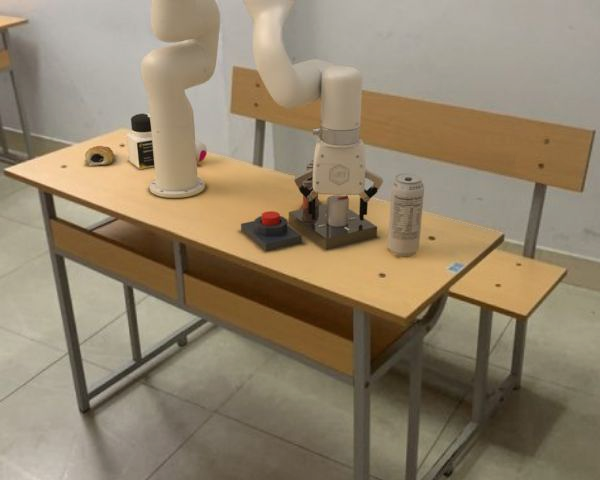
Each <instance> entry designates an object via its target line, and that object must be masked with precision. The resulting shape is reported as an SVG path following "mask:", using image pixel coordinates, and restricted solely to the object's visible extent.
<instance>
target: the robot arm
mask: <svg viewBox="0 0 600 480" xmlns="http://www.w3.org/2000/svg"><path fill="white" fill-rule="evenodd" d="M242 1H243V4H244V6H245V8H246V10H247V12H248V14H249V15H250V18H251V20H252V24H253V29H252V54H253V61H254V65H255V68H256V70H257V72H258V74H259V77H260V78H261V80H262V83H263V84H264V87H265V88H266V90H267V92H268V95H270V97H271V98H272V100H273V101H274V102H275V103H276V104H277V105H279V106H280V107H282V108H284V109H287V110H293V109H297V108H300V107H303V106H305V105H307V104H310V103H313V102H317V101H320V125H319V126H318V127H313V128H312V136H316V137H318V139H317V140H316V143H315V148H314V153H313V160H314V163H313V168H312V169H310V170H308V171H306V170H305V171H304V172H302V173H299V174H297V175H295V176H294V183H295V185H296V187H297V189H298V190H299V193H301V194H302V196H303V195H304V196H305V197H306V198H307V200H308V201H309V202H308V214H312V220H314V219H315V208H316V196H317V195H318V196H319V195H329V196H333V195H342V196H346V195H347V196H357V195H358V196H359V209H358V210H359V211H358V215H359V217H360V220H361V221H363V220H364V218H365V216H367V215H368V203H369V201H370V200H371V199H372V198H373V197H374V196H375V195H376V194H377V193H378V192H379V189H380V188H381V187H382V185H383V183H384V179H383V177H382V176H380V175H378V174H376V173H374V172H372V171H370V170H369V169H366V151H365V143H364V141H363V139H361V138H360V137H361V117H362V116H361V115H362V98H363V74H362V72H361V70H359V69H358V68H356V67H353V66H347V65H336V64H333V63H331V62H328V61H326V60H323V59H318V58H312V59H308V60H304V61H301V62H297V63H292V61H291V59H290V58H289V55H288V53H287V50H286V48H285V43H284V40H283V30H284V29H283V28H284V24H285V21H286V20H287V17H288V15H289V14H290V13H291V11H292V10H293V8H294V4H295V2H294V0H242ZM150 27H151V31H152V34H153V36H154V37H155V38H156V39H157V40H159V41H160V42H162V43H168V45H165V46H160V47H158V48H157V47H156V48H155V49H153V50H151V51H149V52H148V53H147V54H146V55H145V56H144V57H143V59H142V61H141V64H140V75H141V79H142V82H143V87H144V90H145V94H146V99H147V104H148V111H149V112H148V114H150V123H151V132H152V143H153V154H154V165H155V166H154V174H155V178H154V179H153V180H151V182H150V183H149V185H148V186H149V191H150V193H152V194H153V195H154V196H157V197H161V198H168V199H182V198H187V197H192V196H195V195H198V194H201V192H203V191H204V190H205V188H206V183H205V181H204V179H203V178H201V177H199V176H198V165H197V164H198V163H197V160H196V144H195V140H196V129H195V117H194V108H193V105H192V104H191V102H190V100H189V98H188V96H187V94H186V90H188V89H190V88H194V87H197V86H200V85H202V84H206V83H207V82H208V81H210V80H211V78H212V77H213V76H214V73H215V70H216V67H217V59H218V50H219V49H218V48H219V39H220V30H221V13H220V9H219V5H218V3H217V1H216V0H151V2H150ZM169 43H170V44H169ZM171 43H172V44H171ZM311 177H313V186H312V188H311V189H310V190H309V189H308V188H307V187H306V186H305V185H304V183H303V181H305V180H307V179H309V178H311ZM366 179H367V180H369V181H371V182H373V183H372V185H371V186H370V187H369V188H368V189H366Z"/></svg>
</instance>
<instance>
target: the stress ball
mask: <svg viewBox="0 0 600 480" xmlns="http://www.w3.org/2000/svg"><path fill="white" fill-rule="evenodd" d="M195 144H196V160H197V166H200V167H201V165H200V164H198V163H201V162H203V161H204V160H205V158H206V157H207V155H208V149H207V146H206V144H205V143H204V142H203V141H201V140H199V139H195Z"/></svg>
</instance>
